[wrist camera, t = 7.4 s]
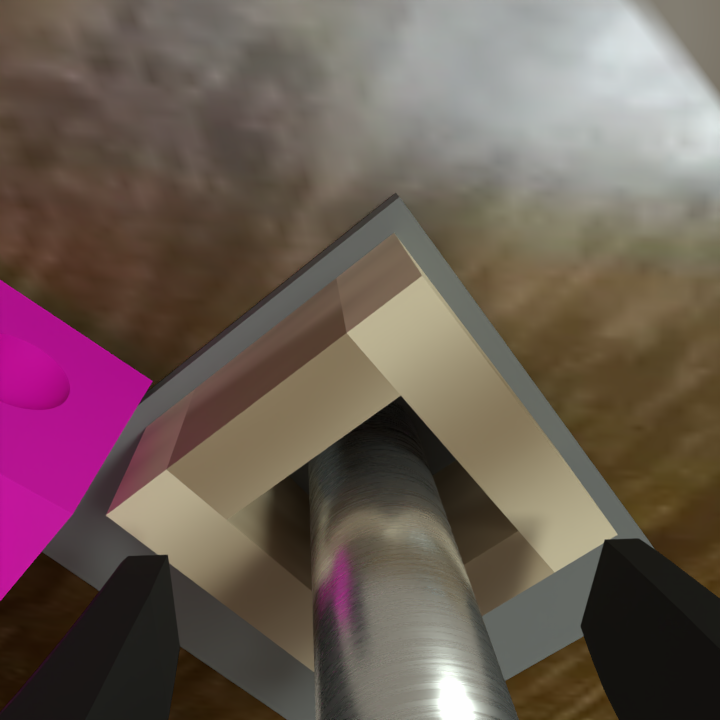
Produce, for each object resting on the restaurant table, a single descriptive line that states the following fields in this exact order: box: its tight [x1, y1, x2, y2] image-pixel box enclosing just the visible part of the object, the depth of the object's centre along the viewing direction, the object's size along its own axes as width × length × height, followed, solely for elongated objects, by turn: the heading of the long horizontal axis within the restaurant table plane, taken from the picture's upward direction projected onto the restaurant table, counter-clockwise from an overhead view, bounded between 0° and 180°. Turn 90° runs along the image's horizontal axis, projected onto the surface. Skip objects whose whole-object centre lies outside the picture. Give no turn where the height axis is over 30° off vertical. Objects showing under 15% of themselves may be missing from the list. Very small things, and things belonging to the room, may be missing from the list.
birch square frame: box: [106, 233, 618, 672], centre depth 12 cm, size 7×7×3 cm
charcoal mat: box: [42, 193, 654, 720], centre depth 15 cm, size 14×12×1 cm
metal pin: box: [308, 401, 518, 720], centre depth 10 cm, size 3×3×8 cm
